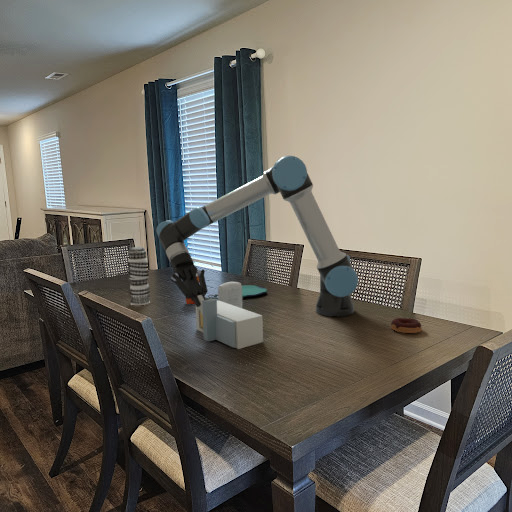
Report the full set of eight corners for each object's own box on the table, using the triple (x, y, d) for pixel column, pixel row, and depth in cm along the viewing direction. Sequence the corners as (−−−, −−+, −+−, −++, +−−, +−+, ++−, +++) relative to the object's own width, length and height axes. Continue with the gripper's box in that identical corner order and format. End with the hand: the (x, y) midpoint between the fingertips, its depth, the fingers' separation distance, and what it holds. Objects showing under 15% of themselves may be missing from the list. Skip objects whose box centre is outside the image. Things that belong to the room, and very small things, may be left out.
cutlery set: (274, 294, 213) (274, 290, 213) (218, 306, 197) (218, 301, 197) (251, 287, 230) (251, 283, 229) (198, 298, 213) (197, 293, 213)
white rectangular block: (262, 341, 150) (262, 315, 148) (238, 349, 144) (237, 321, 142) (219, 323, 170) (219, 300, 169) (196, 329, 164) (195, 305, 163)
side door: (235, 346, 144) (234, 305, 142) (224, 349, 142) (223, 308, 140) (214, 336, 154) (213, 298, 152) (203, 339, 152) (202, 300, 149)
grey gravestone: (238, 308, 191) (237, 279, 189) (244, 310, 187) (243, 281, 185) (217, 312, 185) (216, 282, 183) (222, 315, 182) (221, 284, 180)
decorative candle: (125, 305, 199) (121, 249, 195) (137, 300, 208) (133, 246, 204) (143, 306, 196) (140, 249, 192) (154, 301, 205) (151, 246, 201)
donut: (424, 329, 160) (424, 318, 159) (418, 337, 151) (418, 325, 151) (395, 325, 165) (395, 314, 164) (387, 332, 157) (387, 321, 156)
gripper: (192, 262, 169) (218, 315, 159) (160, 266, 161) (185, 323, 151) (199, 249, 164) (226, 303, 154) (166, 253, 156) (192, 310, 146)
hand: (206, 313), depth 152 cm, fingers closed
